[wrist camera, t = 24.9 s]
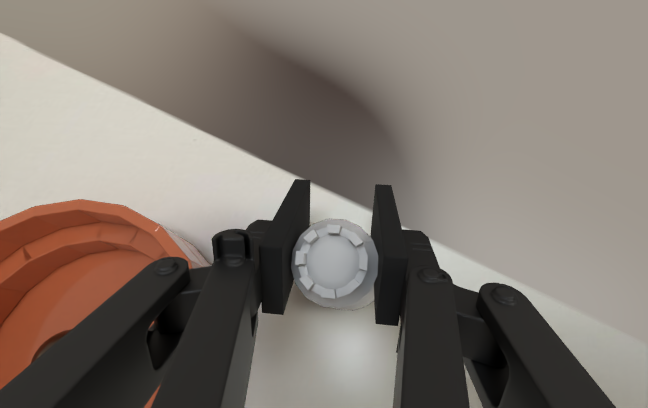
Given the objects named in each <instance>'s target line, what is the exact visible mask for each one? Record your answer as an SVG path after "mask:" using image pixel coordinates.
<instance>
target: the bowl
mask: <svg viewBox="0 0 648 408" xmlns="http://www.w3.org/2000/svg"><path fill="white" fill-rule="evenodd" d="M164 257H181V258H184V259H185V260H187V261H188V265H189V269H191V268H200V267H207V266H211V265H210V264H209V263H208V262H207V261H206V260H205V258H204V257H203V256H202V255H201V254H200V252H199V251H198V250H197V249H196V248H195V247H194V246H193V245H192V244H190V243H189V242H187V241H185V240H184V239H182V238H181V237H179V236H177V235H176V234H174V233H172V232H171V231H169V230H168V229H166V228H164V227H163V226H161V225H159V224H157V223H156V222H154V221H152V220H150V219H148V218H146V217H145V216H143V215H141V214H139V213H137V212H135V211H134V210H132V209H130V208H128V207H126V206H123V205H118V204H111V203H104V202H97V201H90V200H83V199H81V200H80V199H78V200H72V201H66V202H59V203H53V204H46V205H40V206H35V207H31V208H29V209H27V210H24V211H22V212H20V213H17V214H15V215H13V216H10V217H8V218H6V219H3V220H1V221H0V389H2V388H3V387H4V386H5V385H6V384H8V383H9V382H10V381H11V380H12V379H14V378H15V377H16V376H17V375H18V374H19V373H21V372H22V371H23V370H24V369H25V368H27V367H28V366H29V365H30V364H31V360H32V358H33V356H34V354H35V352H36V351H37V350H38V348H39V347H40V346H41V345H42V344H43V343H44V342H45V341H46V340H47V339H49V338H50V337H52V336H53V335H55V334H57V333H60V332H62V331H65V330H69V329H73V328H74V327H75V326H76V325H77V324H79V323H80V322H81V321H82V320H83V319H85V318H86V317H87V316H88V315H89V314H90V313H92V312H93V311H94V310H95V309H96V308H98V307H99V306H100V305H101V304H102V303H104V302H105V301H106V300H107V299H108V298H109V297H111V296H112V295H113V294H114V293H115V292H117V291H118V290H119V289H120V288H121V287H122V286H124V285H125V284H126V283H127V282H128V281H130V280H131V279H132V278H133V277H134V276H136V275H137V274H138V273H139V272H140V271H141V270H143V269H144V268H145V267H146V266H147V265H149V264H150V263H152V262H154V261H156V260H159V259H161V258H164ZM153 323H154V321H153V322H152V324H153ZM152 324H151V325H152ZM151 325H150V327H151ZM150 327H149V328H150ZM160 385H161V384H160ZM160 385H159V387H160ZM159 387H158V388H157V390H156V391H155V393H154V394H153V395H152V397H151V398H150V400H149V401H148V402H147V404H146V405H145V407H144V408H151V406H152V403H153V401H154V399H155V396H156V394H157V392H158V389H159Z"/></svg>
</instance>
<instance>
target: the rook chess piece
mask: <svg viewBox="0 0 648 408" xmlns="http://www.w3.org/2000/svg"><path fill="white" fill-rule="evenodd" d="M291 269H292V273H293V276H294V280H295V284H296V285H297V286H298V288H299V289H300V290H301V292H302V293H303V294H304V295H305V297H306V298H307V299H309V300H311V301H313V302H315V303H316V304H318V305H320V306H322V307H331V308H335V309H341V310H352V311H353V310H356V309H359V308H362V307H365V306H368V305H369V304H370V303H371V302H373V301H374V282H375V279H376V277H377V274H378V253H377V250H376V248H375V245H374V242H373V240H372V239H371V236H369V235H368V234H367V233H366V232H365V231H364V230H363V229H362V227H360V226H358V225H356V224H354V223H352V222H350V221H347V220H342V219H327V220H324V221H321V222H318V223H315V224H313V225H312V226H311V227H309V228H308V229H307V230H306V231H305V232H304V233H302V234H301V235H300V237H299V239H298V241H297V243H296V245H295V247H294V249H293V252H292V262H291Z"/></svg>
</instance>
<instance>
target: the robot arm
mask: <svg viewBox="0 0 648 408" xmlns="http://www.w3.org/2000/svg"><path fill="white" fill-rule="evenodd" d="M309 227H310V180H299V179H295V181H294V182H293V184H292V186H291V188H290V190H289V192H288V193H287V195H286V197H285V199H284V201H283V202H282V204H281V206H280V208H279V210H278V211H277V213H276V215H275V217H274V219H273V221H269V220H256V221H255V222H253V223H251V224H250V225H249V226H248V228H247V229H246V230H242V229H230V230H225V231H222V232H219V233H217V234H216V235H214V237H213V238H212V246H213V254H214V262H213V264H212V266H207V267H200V268H191V269H189V265H188V261H187V260H185V259H184V258H181V257H164V258H161V259H159V260H156V261H154V262H152V263H150V264H149V265H147V266H146V267H145V268H144V269H143V270H141V271H140V272H139V273H138V274H137V275H136V276H134V277H133V278H132V279H131V280H130V281H128V282H127V283H126V284H125V285H124V286H122V287H121V288H120V289H119V290H118V291H117V292H115V293H114V294H113V295H112V296H111V297H109V298H108V299H107V300H106V301H105V302H104V303H102V304H101V305H100V306H99V307H98V308H96V309H95V310H94V311H93V312H92V313H90V314H89V315H88V316H87V317H86V318H85V319H83V320H82V321H81V322H80V323H79V324H77V325H76V326H75V327H74V328H73V329H72V330H70V331H69V332H68V333H67V334H66V335H64V336H63V337H62V338H61V339H60V340H59V341H57V342H56V343H55V344H54V345H53V346H51V347H50V348H49V349H48V350H47V351H45V352H44V353H43V354H42V355H41V356H40V357H38V358H37V359H36V360H35V361H34V362H32V363H31V364H30V365H29V366H28V367H27V368H25V369H24V370H23V371H22V372H21V373H19V374H18V375H17V376H16V377H15V378H14V379H12V380H11V381H10V382H9V383H8V384H6V385H5V386H4V387H3V388H2V389H0V408H144V407H145V405H146V404H147V402H148V401H149V400H150V398H151V397H152V395H153V394H154V393H155V391H156V390H157V388H158V387H159V385H160V384H161V385H160V387H159V389H158V392H157V394H156V396H155V399H154V401H153V403H152V406H151V408H244V405H245V399H246V393H247V387H248V381H249V375H250V369H251V363H252V356H253V350H254V344H255V338H256V332H257V326H258V308H259V306H260V303H261V302H262V313H270V314H281V315H283V314H284V310H285V307H286V304H287V301H288V297H289V294H290V291H291V288H292V284H293V281H294V276H293V273H292V269H291V262H292V252H293V249H294V247H295V245H296V243H297V241H298V239H299V237H300V235H301V234H302V233H304V232H305V231H306V230H307V229H308V228H309ZM371 239H372V240H373V242H374V245H375V248H376V250H377V253H378V274H377V277H376V279H375V282H374V302H375V320H376V324H383V325H393V326H398V323H399V316H400V319H401V326H400V332H399V338H398V345H397V351H396V352H397V365H396V376H395V388H394V400H393V408H470V406H469V399H468V392H467V384H466V377H465V370H464V364H465V366H466V368H467V371H468V373H469V375H470V378H471V380H472V382H473V385H474V387H475V389H476V392H477V394H478V396H479V399H480V401H481V403H482V406H483V408H616V407H615V406H614V404H613V403H612V402H611V401H610V400H609V398H608V397H607V396H606V395H605V393H604V392H603V391H602V390H601V388H600V387H599V386H598V385H597V383H596V382H595V381H594V380H593V379H592V377H591V376H590V375H589V374H588V372H587V371H586V370H585V369H584V367H583V366H582V365H581V364H580V363H579V361H578V360H577V359H576V358H575V356H574V355H573V354H572V353H571V351H570V350H569V349H568V348H567V347H566V345H565V344H564V343H563V342H562V340H561V339H560V338H559V337H558V335H557V334H556V333H555V332H554V331H553V329H552V328H551V327H550V326H549V324H548V323H547V322H546V321H545V319H544V318H543V317H542V316H541V315H540V313H539V312H538V311H537V310H536V308H535V307H534V306H533V305H532V303H531V302H530V301H529V300H528V299H527V297H526V296H524V295H523V294H522V293H521V292H520V291H518V290H516V289H514V288H513V287H510V286H507V285H505V284H499V283H486V284H484V285H482V286H481V288H480V291H479V293H478V292H474V291H471V290H467V289H464V288H461V287H458V286H456V285H454V284H453V283H452V279H451V277H450V275H449V274H448V273H446V272H445V271H444V270H442V269H440V267H439V265H438V262H437V260H436V257H435V254H434V252H433V249H432V246H431V244H430V241H429V238H428V237H427V236H426V235H425V234H423V233H422V232H421V231H414V230H402V228H401V224H400V220H399V216H398V212H397V208H396V203H395V199H394V195H393V191H392V187H391V185H376V186H375V196H374V206H373V216H372V226H371ZM153 321H154V323H153V324H152V322H153ZM151 324H152V325H151ZM150 325H151V327H150ZM149 327H150V328H149ZM463 361H464V363H463Z"/></svg>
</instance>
